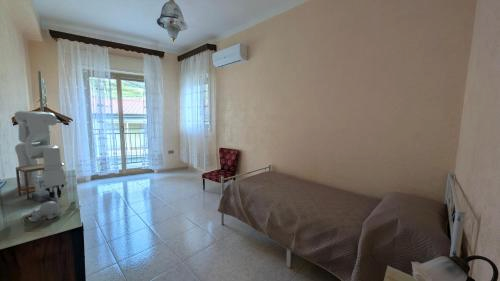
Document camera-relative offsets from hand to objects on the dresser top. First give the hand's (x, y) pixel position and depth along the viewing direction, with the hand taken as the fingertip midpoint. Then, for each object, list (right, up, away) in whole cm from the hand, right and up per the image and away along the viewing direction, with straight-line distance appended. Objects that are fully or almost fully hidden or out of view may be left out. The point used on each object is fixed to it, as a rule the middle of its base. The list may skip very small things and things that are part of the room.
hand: (55, 196), depth 129 cm
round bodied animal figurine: (+14, -6, -21) cm, 26 cm away
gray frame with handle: (-8, -2, +4) cm, 9 cm away
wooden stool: (-23, -1, +12) cm, 26 cm away
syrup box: (-13, -2, +6) cm, 15 cm away
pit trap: (-34, 0, +18) cm, 38 cm away
